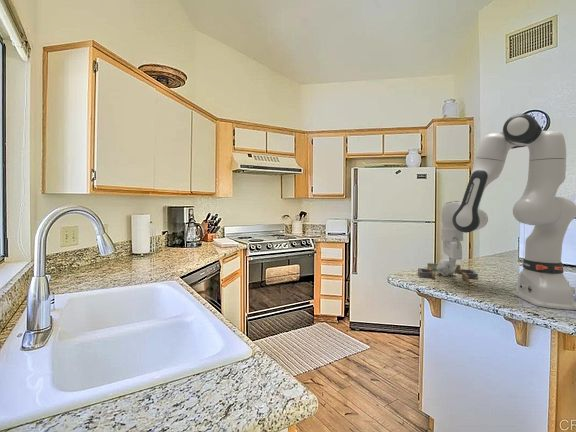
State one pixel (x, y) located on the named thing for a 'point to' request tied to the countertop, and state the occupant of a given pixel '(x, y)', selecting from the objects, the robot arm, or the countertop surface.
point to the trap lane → (465, 273)
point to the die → (445, 268)
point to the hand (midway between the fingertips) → (452, 266)
